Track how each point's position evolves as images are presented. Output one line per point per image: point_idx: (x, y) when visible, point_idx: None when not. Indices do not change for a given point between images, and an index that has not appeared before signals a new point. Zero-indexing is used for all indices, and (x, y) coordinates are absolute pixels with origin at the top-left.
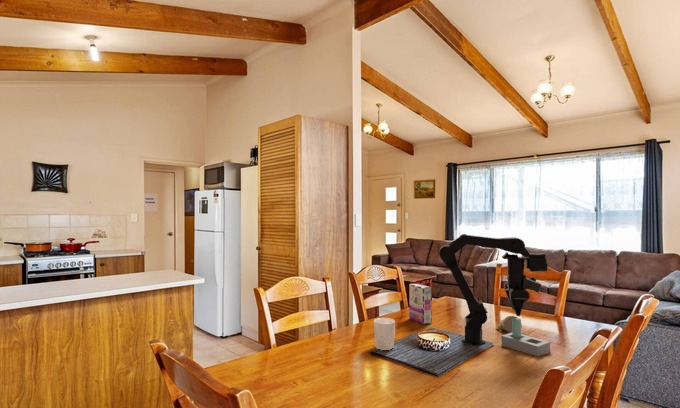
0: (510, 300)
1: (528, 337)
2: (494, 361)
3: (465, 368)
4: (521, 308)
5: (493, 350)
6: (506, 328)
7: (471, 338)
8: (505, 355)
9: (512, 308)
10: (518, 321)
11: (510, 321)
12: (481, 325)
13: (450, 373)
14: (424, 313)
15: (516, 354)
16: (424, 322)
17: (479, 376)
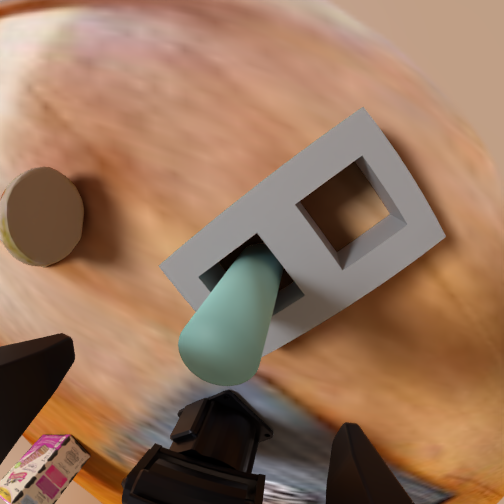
0: (16, 427)
1: (269, 215)
2: (432, 410)
3: (445, 467)
4: (405, 497)
5: (326, 391)
6: (69, 252)
7: (255, 455)
8: (390, 365)
9: (69, 368)
10: (262, 347)
11: (35, 235)
12: (262, 488)
13: (454, 484)
14: (72, 473)
15: (386, 317)
16: (86, 457)
17: (492, 444)
